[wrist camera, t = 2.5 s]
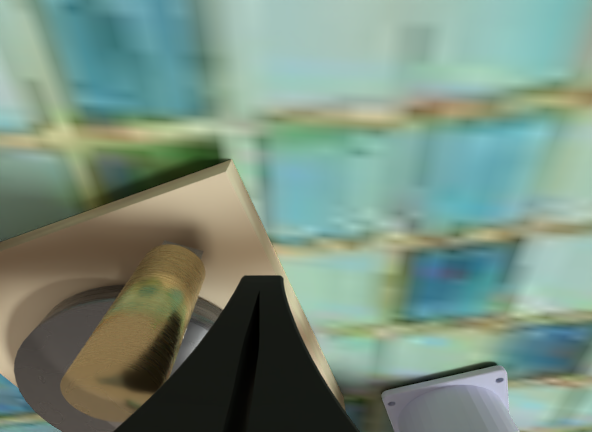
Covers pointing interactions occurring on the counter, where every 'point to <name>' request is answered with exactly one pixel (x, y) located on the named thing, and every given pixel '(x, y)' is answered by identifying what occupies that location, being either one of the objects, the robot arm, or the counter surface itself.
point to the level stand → (142, 254)
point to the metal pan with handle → (115, 343)
